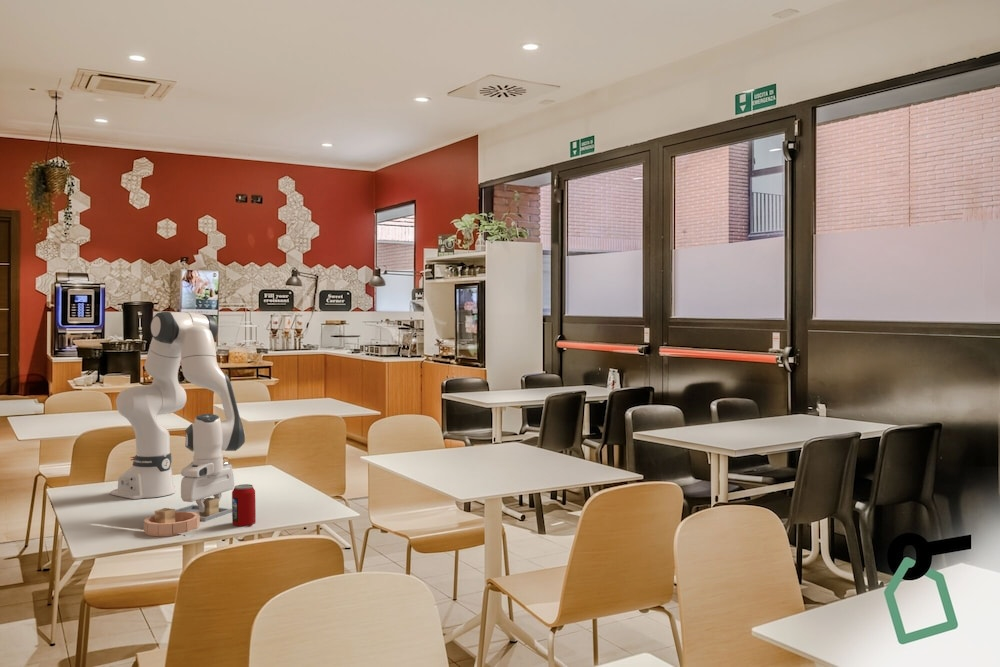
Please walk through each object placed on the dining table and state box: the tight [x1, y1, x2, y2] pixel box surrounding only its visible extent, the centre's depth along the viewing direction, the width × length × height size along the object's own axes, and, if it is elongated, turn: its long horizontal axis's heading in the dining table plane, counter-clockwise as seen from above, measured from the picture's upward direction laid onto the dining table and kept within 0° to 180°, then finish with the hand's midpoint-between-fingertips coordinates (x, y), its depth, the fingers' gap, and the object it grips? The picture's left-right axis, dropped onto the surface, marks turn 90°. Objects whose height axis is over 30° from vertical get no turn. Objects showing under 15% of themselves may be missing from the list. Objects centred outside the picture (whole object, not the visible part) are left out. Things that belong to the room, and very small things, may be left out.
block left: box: [154, 507, 176, 523], centre depth 242 cm, size 4×4×5 cm
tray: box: [175, 504, 232, 522], centre depth 257 cm, size 16×12×2 cm
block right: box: [200, 497, 220, 517], centre depth 256 cm, size 4×4×5 cm
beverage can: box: [231, 483, 257, 528], centre depth 245 cm, size 7×7×12 cm
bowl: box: [143, 511, 201, 538], centre depth 241 cm, size 15×15×4 cm
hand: (209, 509), depth 256 cm, fingers closed on block right, 4 cm apart
